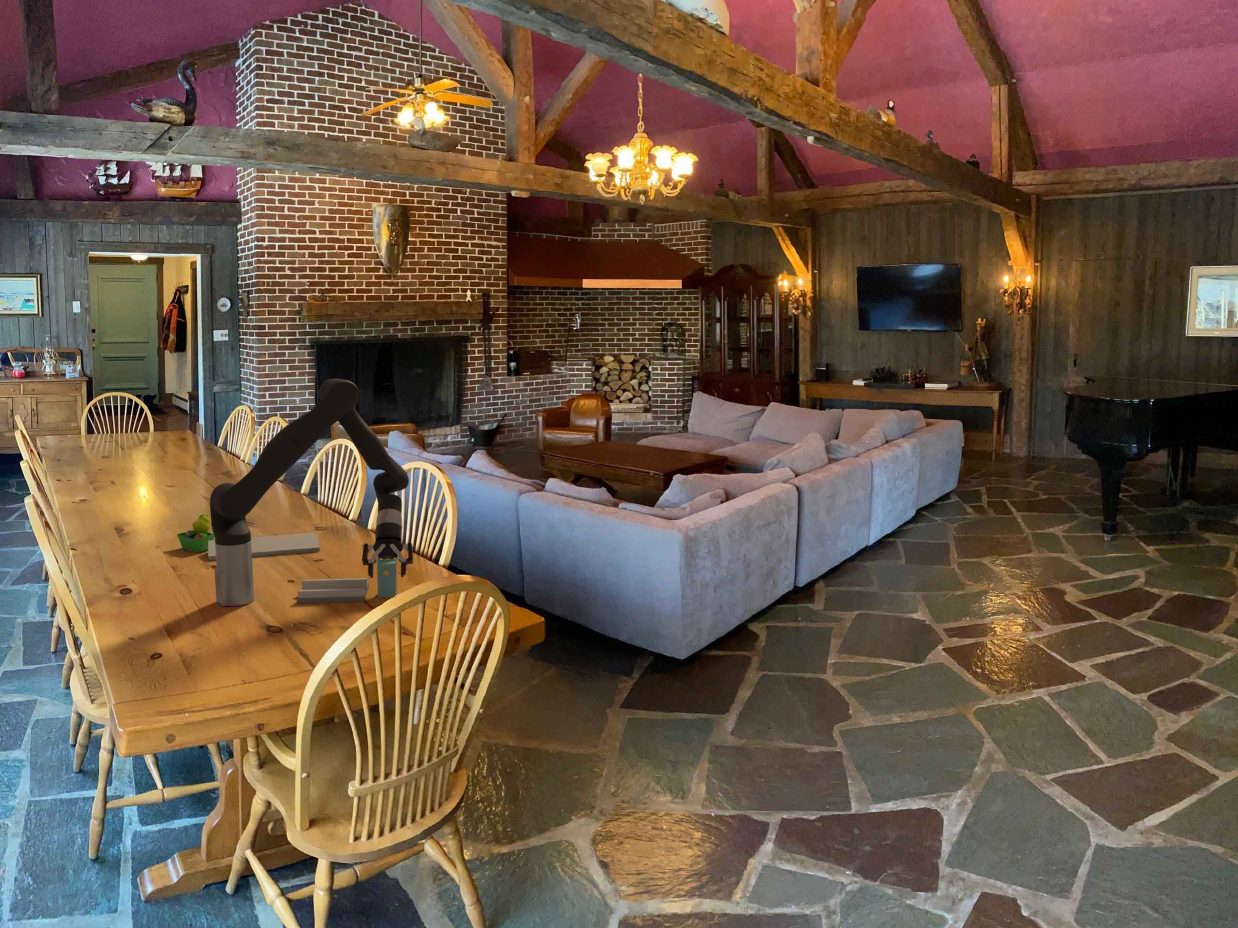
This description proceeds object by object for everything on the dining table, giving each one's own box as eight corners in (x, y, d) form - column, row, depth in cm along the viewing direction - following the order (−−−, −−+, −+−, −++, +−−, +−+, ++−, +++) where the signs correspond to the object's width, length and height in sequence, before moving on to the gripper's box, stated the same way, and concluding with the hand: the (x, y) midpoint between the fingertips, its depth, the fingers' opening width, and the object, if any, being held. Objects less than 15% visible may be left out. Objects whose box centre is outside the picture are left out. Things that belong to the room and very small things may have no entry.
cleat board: (297, 603, 262) (297, 589, 261) (305, 589, 275) (304, 575, 274) (364, 601, 265) (363, 587, 264) (368, 587, 278) (368, 574, 277)
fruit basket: (176, 548, 315) (174, 515, 313) (200, 543, 322) (199, 511, 320) (195, 554, 308) (193, 520, 306) (220, 548, 315) (218, 516, 313)
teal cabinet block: (377, 598, 267) (376, 565, 265) (379, 592, 273) (378, 559, 271) (395, 598, 268) (394, 564, 266) (396, 592, 273) (396, 559, 272)
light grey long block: (319, 559, 316) (316, 544, 324) (319, 547, 314) (316, 532, 322) (209, 568, 303) (209, 553, 311) (208, 556, 301) (208, 540, 309)
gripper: (363, 521, 274) (360, 570, 265) (412, 520, 276) (411, 569, 267) (365, 534, 280) (362, 583, 271) (414, 533, 282) (413, 581, 273)
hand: (386, 576), depth 269 cm, fingers open, 8 cm apart
